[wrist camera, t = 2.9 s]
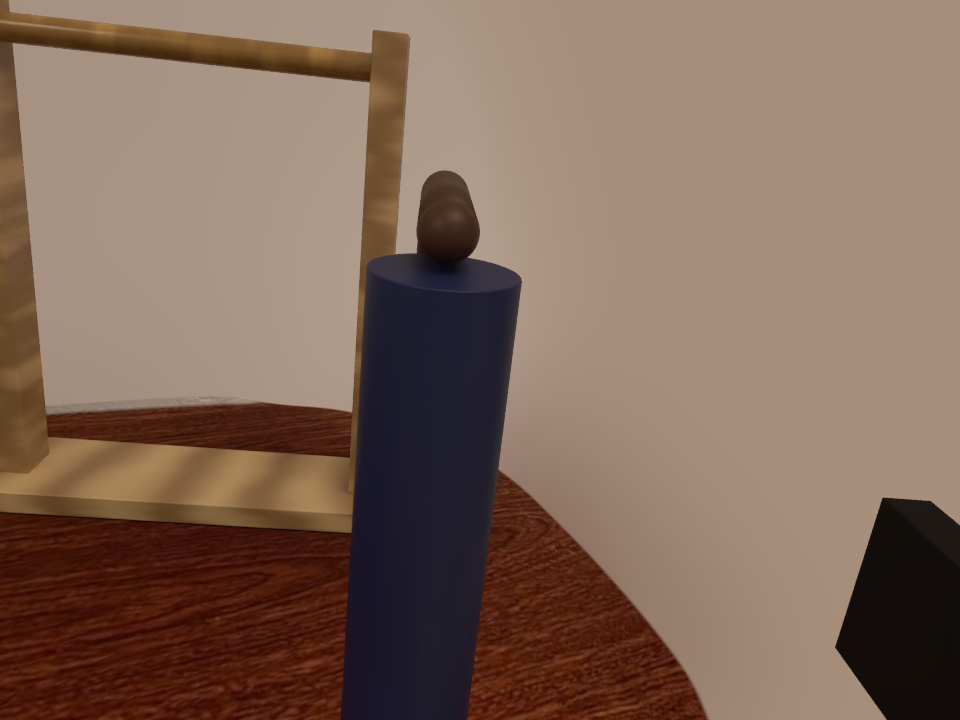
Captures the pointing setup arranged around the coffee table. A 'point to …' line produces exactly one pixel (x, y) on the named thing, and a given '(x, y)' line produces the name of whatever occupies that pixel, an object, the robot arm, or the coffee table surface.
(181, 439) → the coffee table surface
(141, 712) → the coffee table surface
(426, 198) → the umbrella
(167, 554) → the coffee table surface
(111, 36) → the rack
